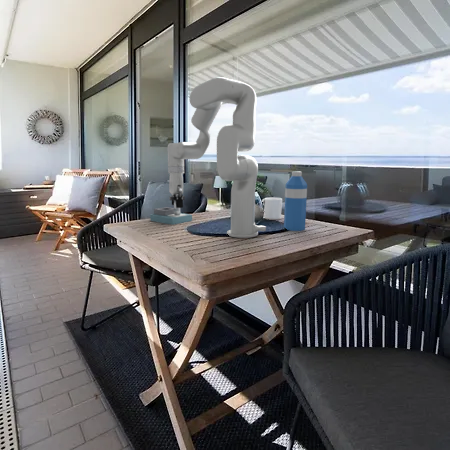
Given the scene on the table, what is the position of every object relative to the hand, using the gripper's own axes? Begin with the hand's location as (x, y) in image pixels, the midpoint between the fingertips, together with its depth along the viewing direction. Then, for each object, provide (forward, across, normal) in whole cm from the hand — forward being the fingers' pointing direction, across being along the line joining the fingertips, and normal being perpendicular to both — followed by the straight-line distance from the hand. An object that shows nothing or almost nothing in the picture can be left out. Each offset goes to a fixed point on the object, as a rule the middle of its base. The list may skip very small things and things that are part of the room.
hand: (177, 206), depth 163 cm
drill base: (+8, -5, -3) cm, 9 cm away
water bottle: (+8, +33, +45) cm, 56 cm away
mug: (+8, +7, +47) cm, 48 cm away
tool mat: (+5, 0, 0) cm, 5 cm away
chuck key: (+4, 0, 0) cm, 4 cm away
